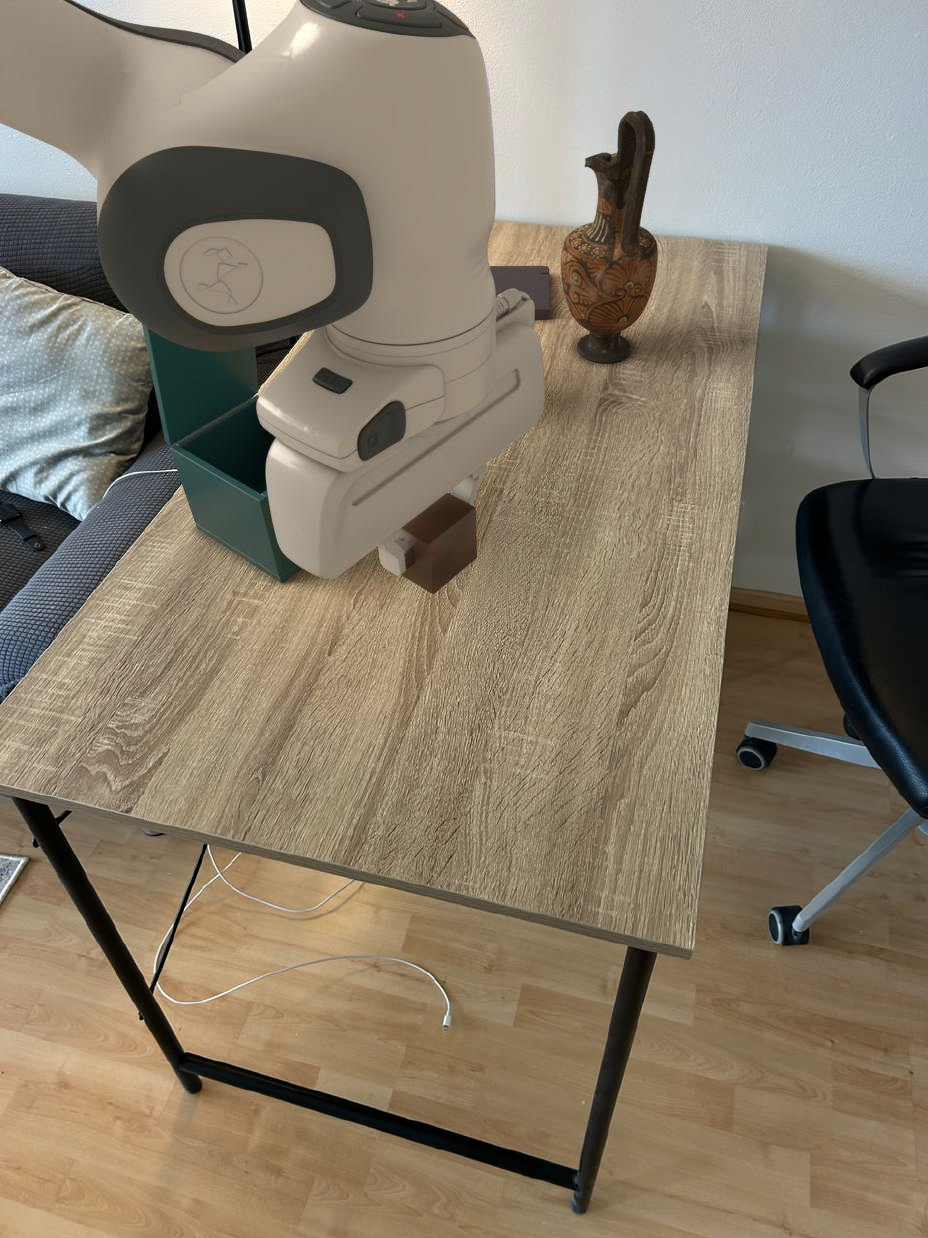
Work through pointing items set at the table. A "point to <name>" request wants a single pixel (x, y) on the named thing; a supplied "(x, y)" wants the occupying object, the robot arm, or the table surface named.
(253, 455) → the teal open-top bin
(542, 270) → the notebook
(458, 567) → the block
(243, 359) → the lid
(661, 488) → the table surface
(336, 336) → the robot arm
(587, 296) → the vase
